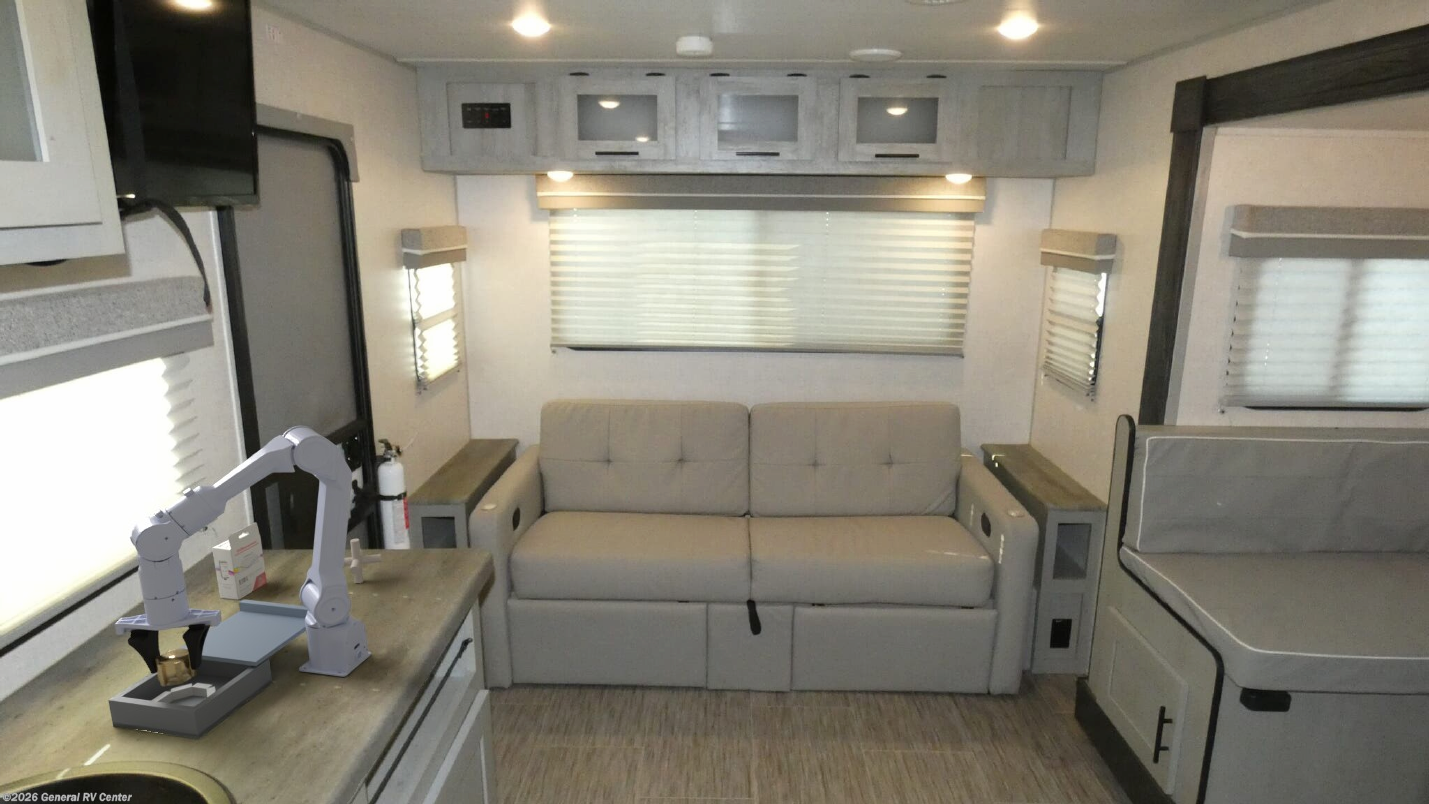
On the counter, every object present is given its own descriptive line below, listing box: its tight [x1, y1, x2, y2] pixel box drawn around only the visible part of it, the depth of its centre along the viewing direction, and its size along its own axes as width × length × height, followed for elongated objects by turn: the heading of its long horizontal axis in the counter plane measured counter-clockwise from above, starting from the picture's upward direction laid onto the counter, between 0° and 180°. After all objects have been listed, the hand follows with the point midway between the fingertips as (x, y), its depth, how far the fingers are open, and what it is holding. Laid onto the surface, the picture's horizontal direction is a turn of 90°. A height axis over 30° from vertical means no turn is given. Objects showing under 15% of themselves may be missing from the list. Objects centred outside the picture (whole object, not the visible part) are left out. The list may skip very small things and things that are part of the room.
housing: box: [107, 657, 273, 740], centre depth 135 cm, size 16×16×5 cm
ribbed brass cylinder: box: [155, 648, 197, 687], centre depth 131 cm, size 5×5×4 cm
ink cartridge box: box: [211, 522, 268, 600], centre depth 175 cm, size 9×5×15 cm, turn 168°
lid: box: [178, 598, 308, 666], centre depth 147 cm, size 16×16×3 cm
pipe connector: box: [344, 538, 382, 584], centre depth 180 cm, size 10×10×10 cm
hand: (176, 668), depth 131 cm, fingers closed on ribbed brass cylinder, 5 cm apart
